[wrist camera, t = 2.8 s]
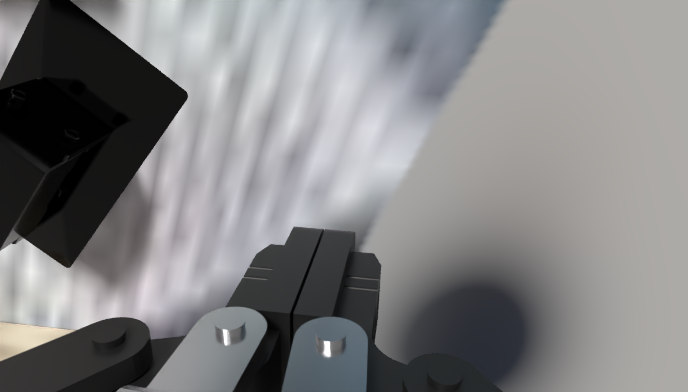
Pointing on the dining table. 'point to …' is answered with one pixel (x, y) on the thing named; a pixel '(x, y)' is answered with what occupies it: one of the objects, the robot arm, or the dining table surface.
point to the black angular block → (74, 128)
